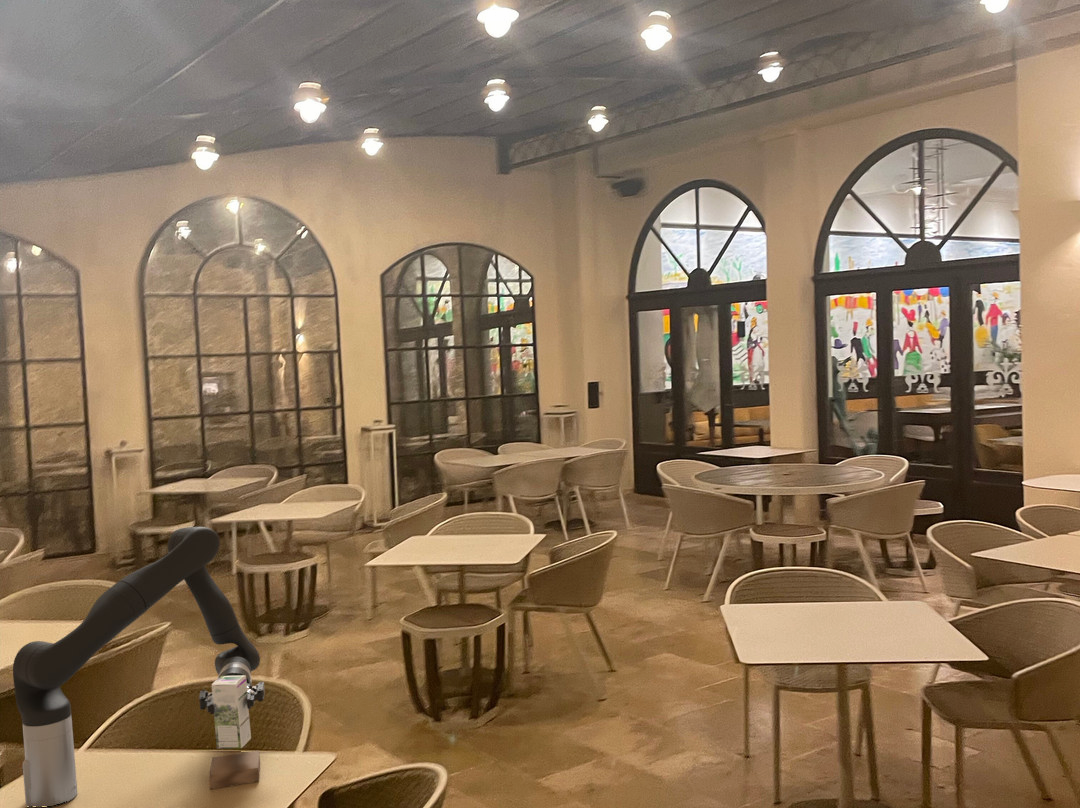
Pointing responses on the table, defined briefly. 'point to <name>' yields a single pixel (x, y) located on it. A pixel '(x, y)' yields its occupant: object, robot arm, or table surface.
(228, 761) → the brown box
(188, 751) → the table surface
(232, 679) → the syrup box
